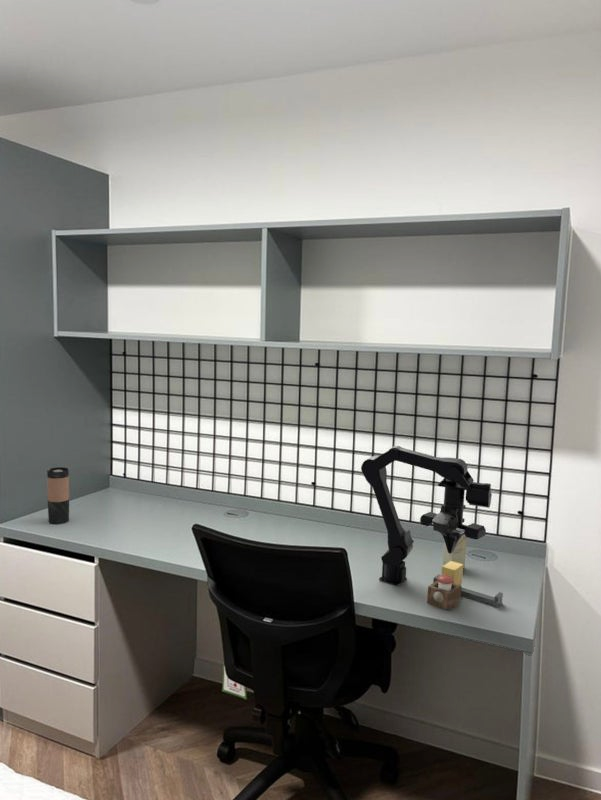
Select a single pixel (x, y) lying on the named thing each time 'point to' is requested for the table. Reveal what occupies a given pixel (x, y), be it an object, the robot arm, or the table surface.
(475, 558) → the table surface
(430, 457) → the robot arm
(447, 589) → the plunger
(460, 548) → the skincare box
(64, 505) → the travel mug
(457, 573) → the block
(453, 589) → the brown wooden box
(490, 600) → the rail
